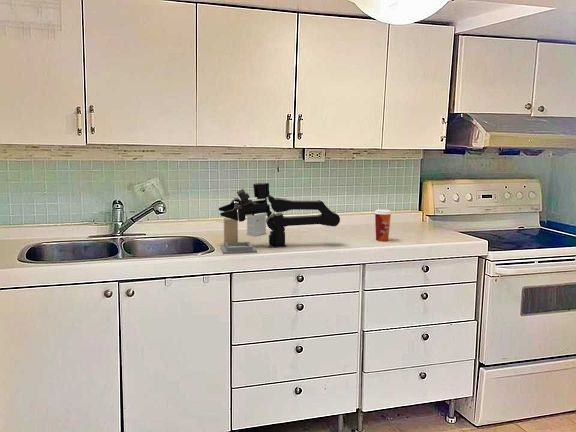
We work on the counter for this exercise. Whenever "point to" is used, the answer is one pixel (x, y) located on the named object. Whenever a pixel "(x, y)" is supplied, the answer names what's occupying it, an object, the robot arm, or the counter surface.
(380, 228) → the paper cup
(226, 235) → the carton
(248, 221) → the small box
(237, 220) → the robot arm
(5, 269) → the counter surface
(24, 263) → the counter surface
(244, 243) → the tray
